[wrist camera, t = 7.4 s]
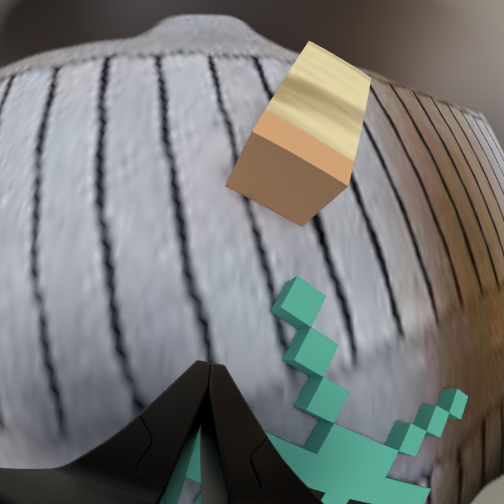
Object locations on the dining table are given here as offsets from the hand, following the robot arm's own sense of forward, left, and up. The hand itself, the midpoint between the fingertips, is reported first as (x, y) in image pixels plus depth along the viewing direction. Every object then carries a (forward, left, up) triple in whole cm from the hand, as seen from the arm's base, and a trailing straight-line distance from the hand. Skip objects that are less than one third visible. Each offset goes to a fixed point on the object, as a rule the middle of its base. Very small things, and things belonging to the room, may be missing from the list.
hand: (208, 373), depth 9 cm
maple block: (+8, -8, -6) cm, 13 cm away
